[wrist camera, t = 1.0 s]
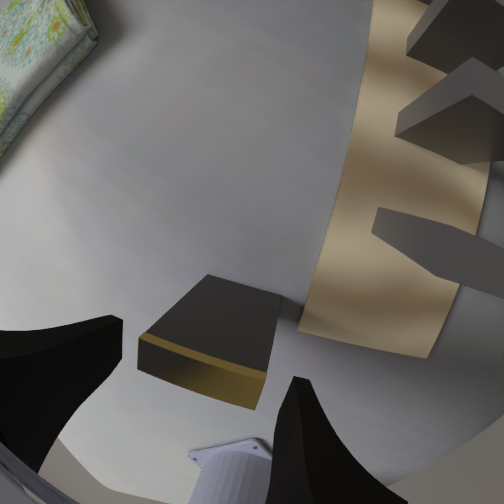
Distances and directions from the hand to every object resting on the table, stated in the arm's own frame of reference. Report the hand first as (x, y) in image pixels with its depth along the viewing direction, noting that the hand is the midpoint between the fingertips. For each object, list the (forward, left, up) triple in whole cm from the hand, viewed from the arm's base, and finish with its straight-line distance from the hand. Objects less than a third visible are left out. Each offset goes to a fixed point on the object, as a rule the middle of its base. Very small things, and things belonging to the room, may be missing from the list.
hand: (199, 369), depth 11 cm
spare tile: (0, 0, -9) cm, 9 cm away
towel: (+32, +9, -9) cm, 35 cm away
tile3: (+3, -16, -8) cm, 18 cm away
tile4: (+7, -20, -8) cm, 22 cm away
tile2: (-2, -11, -8) cm, 14 cm away
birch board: (+5, -18, -9) cm, 20 cm away
